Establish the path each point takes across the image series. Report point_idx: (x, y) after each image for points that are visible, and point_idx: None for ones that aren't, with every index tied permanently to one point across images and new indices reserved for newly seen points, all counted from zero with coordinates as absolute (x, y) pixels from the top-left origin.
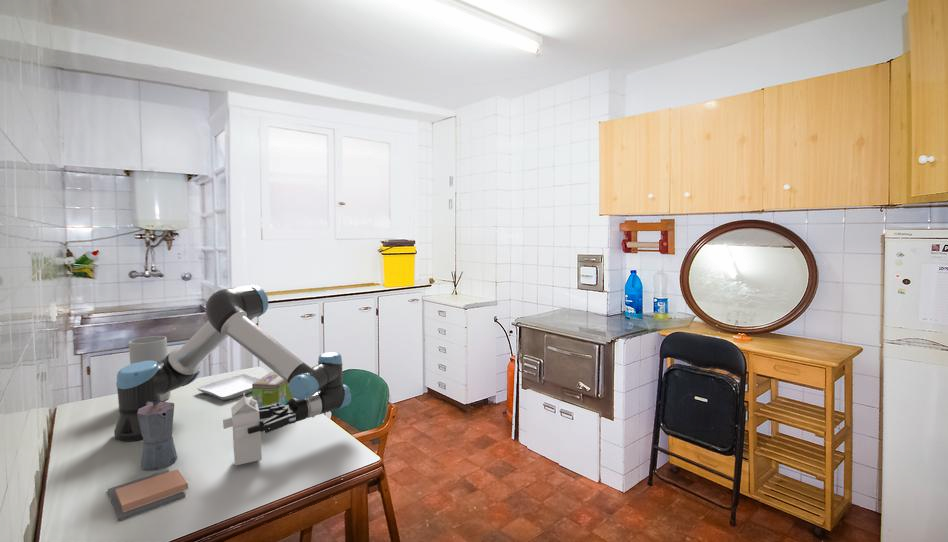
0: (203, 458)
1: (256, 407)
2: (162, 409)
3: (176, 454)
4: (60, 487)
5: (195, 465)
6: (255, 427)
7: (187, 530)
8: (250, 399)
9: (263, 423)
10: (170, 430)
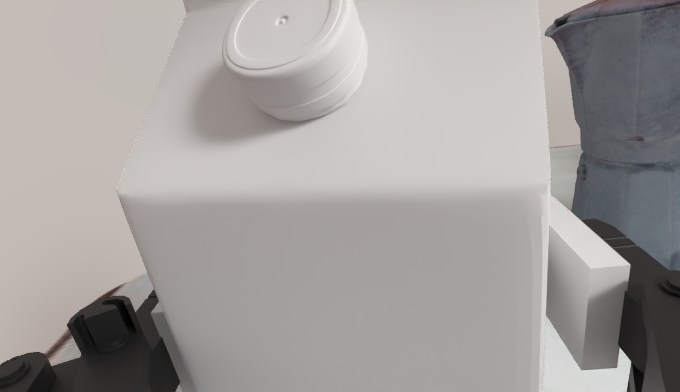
0: (624, 354)
1: (232, 151)
2: (605, 3)
3: (666, 264)
4: (557, 155)
5: (545, 323)
6: (143, 305)
7: (137, 283)
8: (531, 31)
9: (83, 357)
10: (624, 128)
